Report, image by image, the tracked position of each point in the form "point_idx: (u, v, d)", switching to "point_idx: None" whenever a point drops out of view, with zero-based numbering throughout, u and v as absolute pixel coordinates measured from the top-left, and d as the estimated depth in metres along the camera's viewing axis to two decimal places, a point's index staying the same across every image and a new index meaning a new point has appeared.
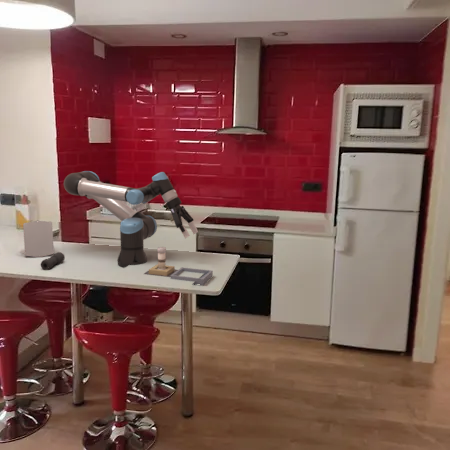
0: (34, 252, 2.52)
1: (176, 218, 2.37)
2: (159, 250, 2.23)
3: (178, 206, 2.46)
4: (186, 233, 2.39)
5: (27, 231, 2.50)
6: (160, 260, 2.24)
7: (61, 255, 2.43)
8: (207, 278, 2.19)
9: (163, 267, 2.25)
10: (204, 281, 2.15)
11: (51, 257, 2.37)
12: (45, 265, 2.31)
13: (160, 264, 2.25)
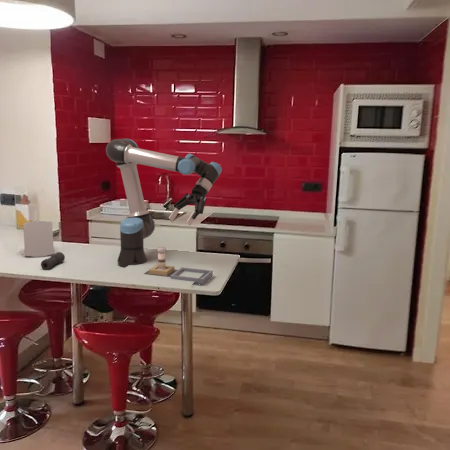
0: (34, 252, 2.52)
1: (203, 206, 2.28)
2: (159, 250, 2.23)
3: None
4: (191, 221, 2.26)
5: (27, 231, 2.50)
6: (160, 260, 2.24)
7: (61, 255, 2.43)
8: (207, 278, 2.19)
9: (163, 267, 2.25)
10: (204, 281, 2.15)
11: (51, 257, 2.37)
12: (45, 265, 2.31)
13: (160, 264, 2.25)
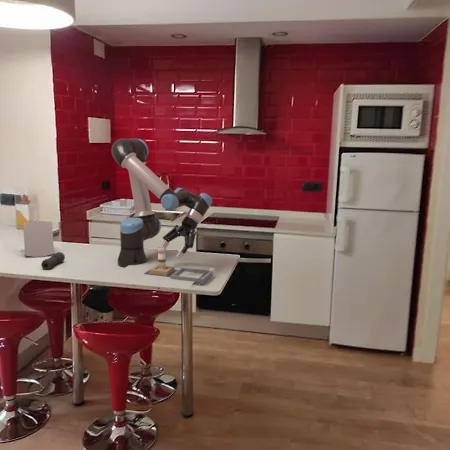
0: (34, 252, 2.52)
1: (193, 240, 2.25)
2: (159, 250, 2.23)
3: None
4: (181, 255, 2.23)
5: (27, 231, 2.50)
6: (160, 260, 2.24)
7: (61, 255, 2.43)
8: (207, 278, 2.19)
9: (163, 267, 2.25)
10: (204, 281, 2.15)
11: (51, 257, 2.37)
12: (46, 265, 2.31)
13: (160, 264, 2.25)
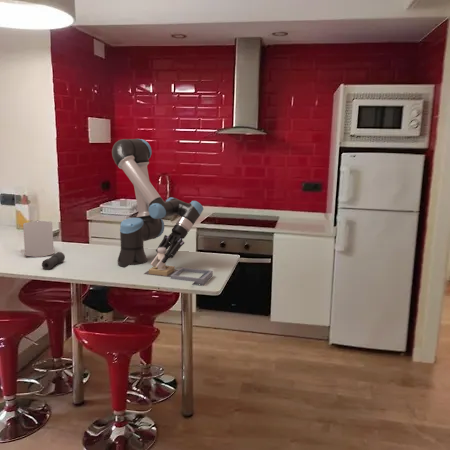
0: (34, 252, 2.52)
1: (176, 251, 2.24)
2: (159, 250, 2.23)
3: None
4: (161, 265, 2.23)
5: (27, 231, 2.50)
6: None
7: (61, 255, 2.43)
8: (207, 278, 2.19)
9: (163, 267, 2.25)
10: (204, 281, 2.15)
11: (52, 257, 2.37)
12: (46, 265, 2.31)
13: None
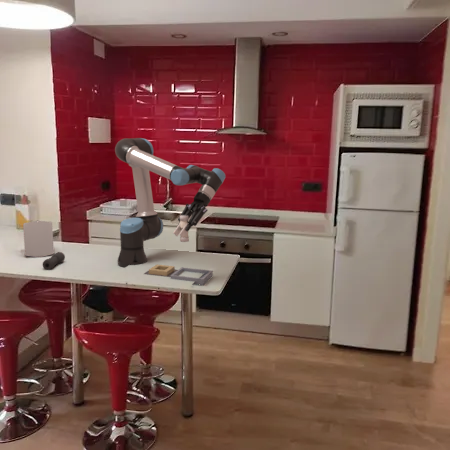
0: (34, 252, 2.52)
1: (199, 218, 2.17)
2: (181, 218, 2.16)
3: None
4: (184, 233, 2.16)
5: (27, 231, 2.50)
6: None
7: (61, 255, 2.43)
8: (207, 278, 2.19)
9: (186, 236, 2.18)
10: (204, 281, 2.15)
11: (52, 257, 2.37)
12: (47, 265, 2.31)
13: None
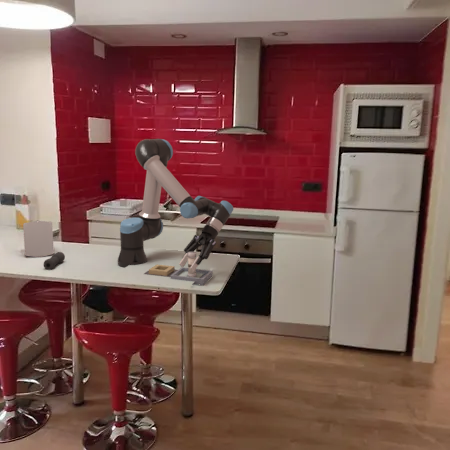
0: (34, 252, 2.52)
1: (209, 251, 2.18)
2: (189, 255, 2.18)
3: None
4: (195, 267, 2.17)
5: (27, 231, 2.50)
6: (190, 265, 2.19)
7: (62, 255, 2.43)
8: (207, 278, 2.19)
9: (193, 272, 2.20)
10: (204, 281, 2.15)
11: (53, 257, 2.37)
12: (48, 265, 2.31)
13: (190, 269, 2.19)
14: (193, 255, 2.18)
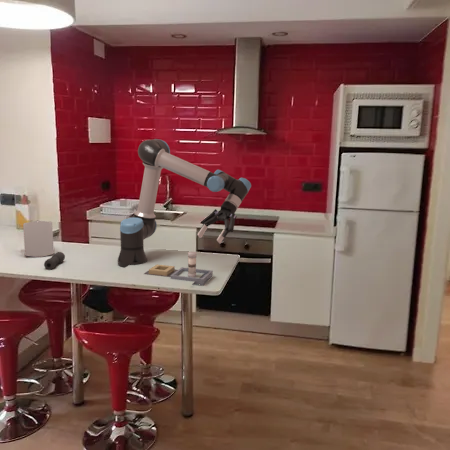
0: (34, 252, 2.52)
1: (233, 224, 2.25)
2: (190, 255, 2.18)
3: None
4: (221, 239, 2.23)
5: (27, 231, 2.50)
6: (191, 265, 2.19)
7: (62, 255, 2.43)
8: (207, 278, 2.19)
9: (193, 272, 2.20)
10: (204, 281, 2.15)
11: (53, 257, 2.38)
12: (49, 265, 2.31)
13: (190, 269, 2.20)
14: (193, 255, 2.18)
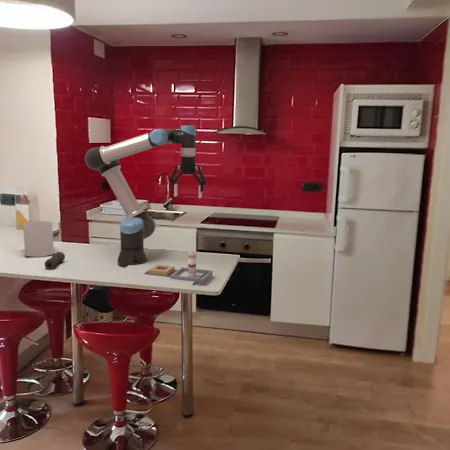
0: (34, 252, 2.52)
1: None
2: (190, 255, 2.18)
3: None
4: (201, 194, 2.43)
5: (27, 231, 2.50)
6: (191, 265, 2.19)
7: (62, 254, 2.44)
8: (207, 278, 2.19)
9: (194, 272, 2.20)
10: (204, 281, 2.15)
11: (53, 257, 2.38)
12: (50, 265, 2.31)
13: (190, 269, 2.20)
14: (193, 255, 2.18)
